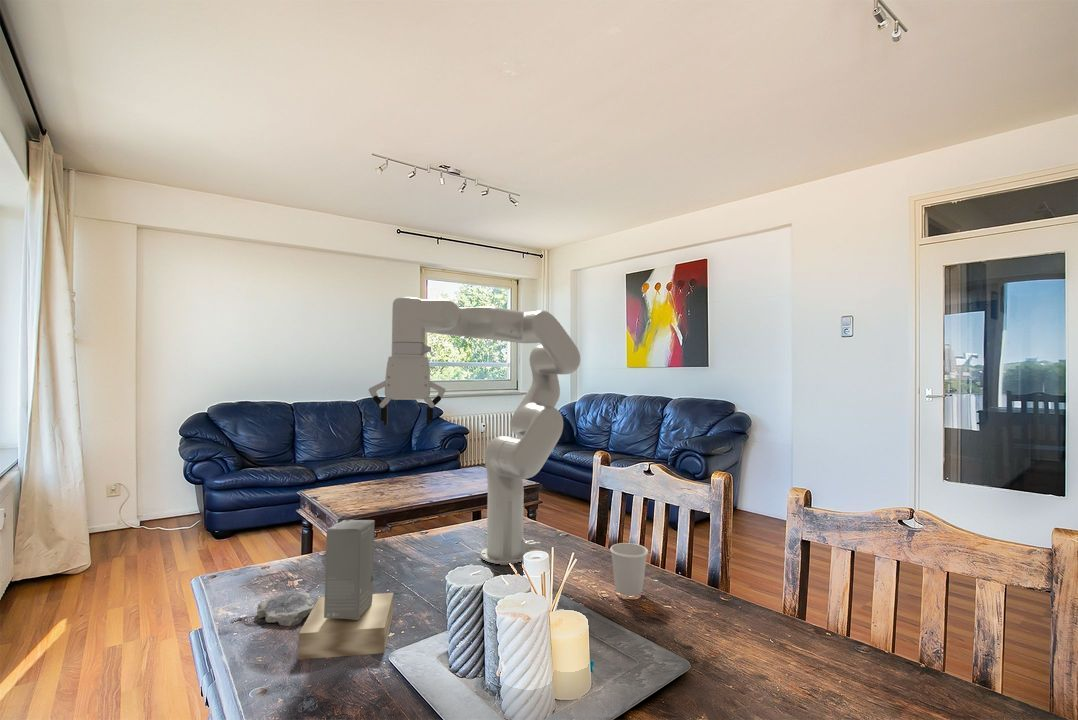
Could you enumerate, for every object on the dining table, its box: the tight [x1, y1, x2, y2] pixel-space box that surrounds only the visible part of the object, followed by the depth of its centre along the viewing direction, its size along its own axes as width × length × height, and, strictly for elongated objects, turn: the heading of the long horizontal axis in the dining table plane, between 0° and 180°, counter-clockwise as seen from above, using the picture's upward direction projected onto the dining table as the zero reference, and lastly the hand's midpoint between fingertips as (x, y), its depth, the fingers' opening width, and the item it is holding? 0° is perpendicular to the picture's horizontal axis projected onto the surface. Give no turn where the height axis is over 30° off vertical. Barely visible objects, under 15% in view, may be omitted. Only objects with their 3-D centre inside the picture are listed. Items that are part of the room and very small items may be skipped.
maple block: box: [297, 592, 394, 660], centre depth 96 cm, size 14×14×5 cm
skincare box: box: [324, 519, 376, 620], centre depth 96 cm, size 8×7×16 cm
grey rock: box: [256, 591, 315, 627], centre depth 104 cm, size 11×4×10 cm
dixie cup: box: [609, 542, 649, 596], centre depth 115 cm, size 8×8×10 cm
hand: (407, 424), depth 121 cm, fingers open, 9 cm apart
